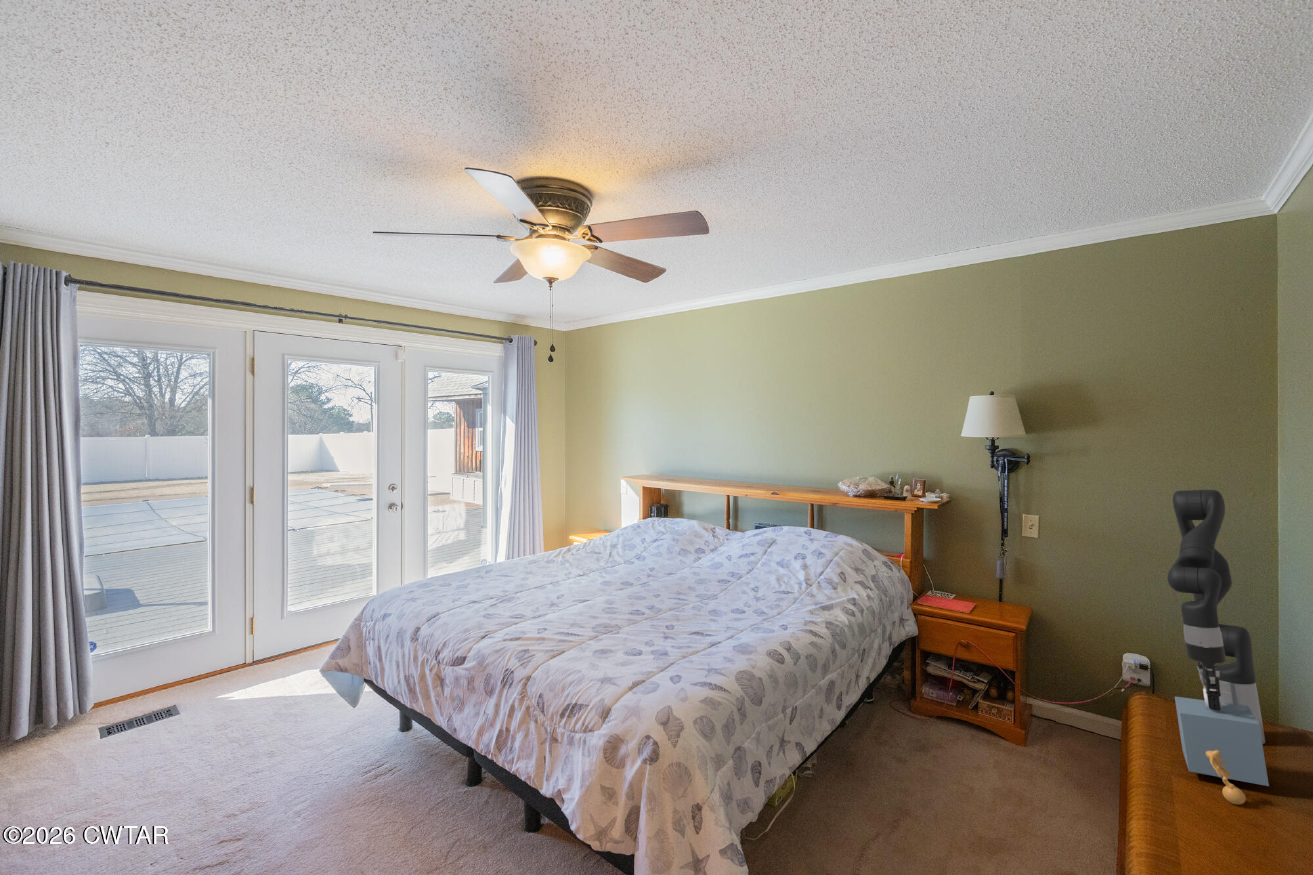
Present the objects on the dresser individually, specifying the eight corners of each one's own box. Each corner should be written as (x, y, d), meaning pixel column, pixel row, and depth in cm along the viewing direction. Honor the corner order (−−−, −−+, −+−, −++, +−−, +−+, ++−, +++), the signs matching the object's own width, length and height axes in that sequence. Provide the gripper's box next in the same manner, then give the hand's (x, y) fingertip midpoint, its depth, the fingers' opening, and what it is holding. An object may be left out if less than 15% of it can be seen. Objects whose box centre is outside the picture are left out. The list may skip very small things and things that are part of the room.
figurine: (1244, 813, 132) (1236, 761, 133) (1209, 803, 137) (1201, 752, 138) (1249, 799, 137) (1241, 749, 138) (1215, 790, 142) (1207, 741, 143)
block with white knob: (1182, 750, 157) (1171, 678, 159) (1257, 763, 148) (1244, 686, 150) (1188, 771, 147) (1177, 693, 149) (1269, 786, 138) (1255, 703, 140)
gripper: (1181, 633, 158) (1190, 695, 157) (1188, 647, 147) (1198, 714, 146) (1218, 636, 154) (1228, 700, 152) (1228, 650, 143) (1239, 720, 141)
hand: (1213, 706), depth 149 cm, fingers closed on block with white knob, 3 cm apart
